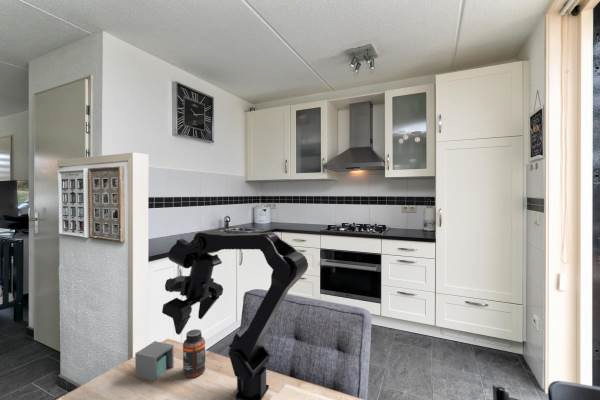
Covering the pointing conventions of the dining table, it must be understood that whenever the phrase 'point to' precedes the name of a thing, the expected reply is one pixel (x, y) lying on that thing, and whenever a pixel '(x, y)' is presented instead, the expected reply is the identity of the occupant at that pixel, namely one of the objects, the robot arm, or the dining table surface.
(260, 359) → the robot arm
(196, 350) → the supplement bottle
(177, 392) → the dining table surface
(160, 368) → the cube
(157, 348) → the grey arch block
